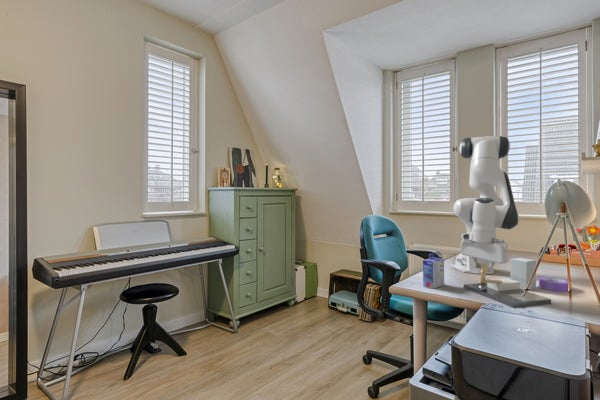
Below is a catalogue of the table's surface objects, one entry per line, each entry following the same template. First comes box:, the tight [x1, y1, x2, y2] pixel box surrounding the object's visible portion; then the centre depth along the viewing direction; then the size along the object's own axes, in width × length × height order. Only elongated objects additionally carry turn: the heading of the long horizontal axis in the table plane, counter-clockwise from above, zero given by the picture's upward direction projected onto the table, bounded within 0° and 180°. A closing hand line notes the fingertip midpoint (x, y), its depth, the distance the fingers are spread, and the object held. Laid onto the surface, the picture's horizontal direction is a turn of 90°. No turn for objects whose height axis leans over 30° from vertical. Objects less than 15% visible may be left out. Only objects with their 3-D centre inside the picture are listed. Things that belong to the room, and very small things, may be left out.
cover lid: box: [487, 278, 520, 291], centre depth 147 cm, size 6×11×3 cm, turn 104°
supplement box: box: [509, 257, 537, 291], centre depth 153 cm, size 7×7×13 cm
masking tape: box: [538, 276, 569, 293], centre depth 153 cm, size 12×12×4 cm
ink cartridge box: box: [422, 252, 445, 290], centre depth 156 cm, size 10×6×14 cm, turn 129°
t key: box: [478, 263, 502, 286], centre depth 144 cm, size 7×8×9 cm
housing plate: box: [463, 282, 552, 308], centre depth 143 cm, size 26×18×3 cm
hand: (482, 269), depth 145 cm, fingers closed on t key, 4 cm apart
